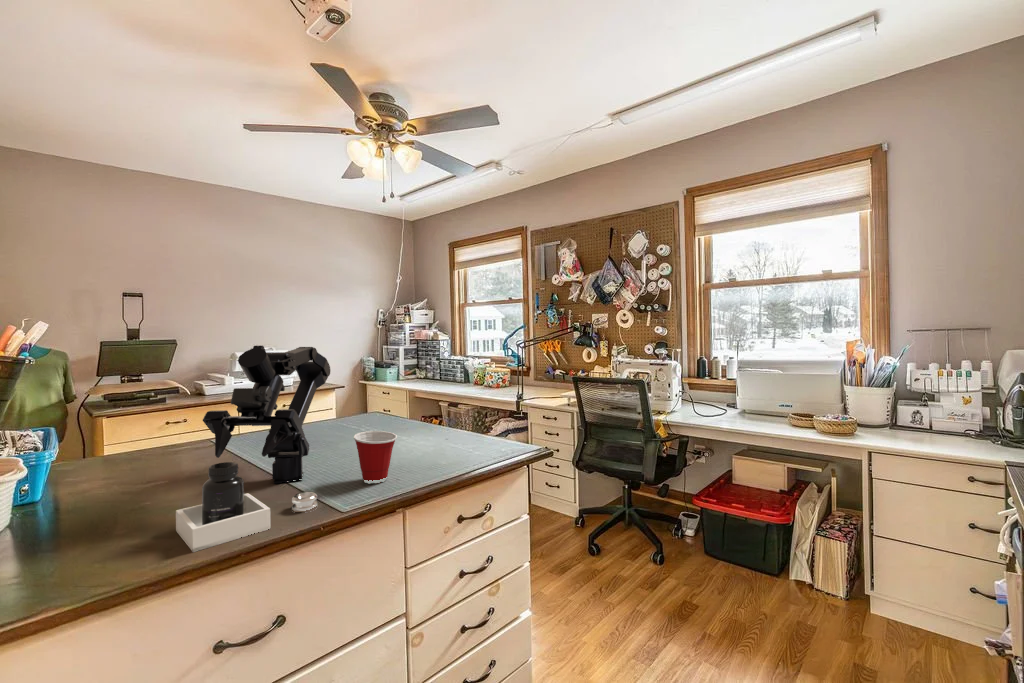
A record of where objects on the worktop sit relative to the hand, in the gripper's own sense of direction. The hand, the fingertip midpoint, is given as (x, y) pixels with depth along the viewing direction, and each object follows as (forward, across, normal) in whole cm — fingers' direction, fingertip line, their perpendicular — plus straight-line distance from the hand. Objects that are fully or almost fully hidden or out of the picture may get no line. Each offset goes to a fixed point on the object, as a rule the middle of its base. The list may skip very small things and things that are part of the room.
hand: (240, 456), depth 93 cm
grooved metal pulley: (+7, +12, +12) cm, 18 cm away
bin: (+14, 0, +4) cm, 14 cm away
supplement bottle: (+13, 0, +4) cm, 14 cm away
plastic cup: (-5, +23, +24) cm, 33 cm away
